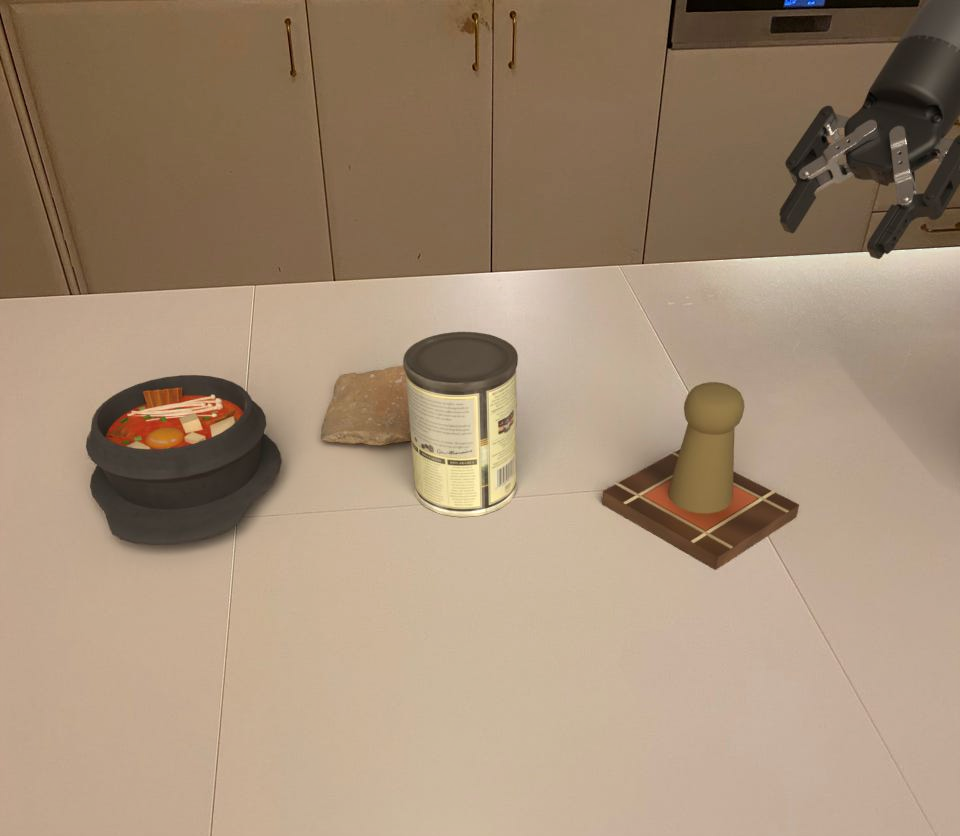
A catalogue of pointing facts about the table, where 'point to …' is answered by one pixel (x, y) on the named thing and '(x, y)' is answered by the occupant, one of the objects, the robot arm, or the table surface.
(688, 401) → the pawn
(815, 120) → the robot arm
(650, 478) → the grid board
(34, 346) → the table surface
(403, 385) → the stone
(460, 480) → the coffee can
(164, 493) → the casserole
